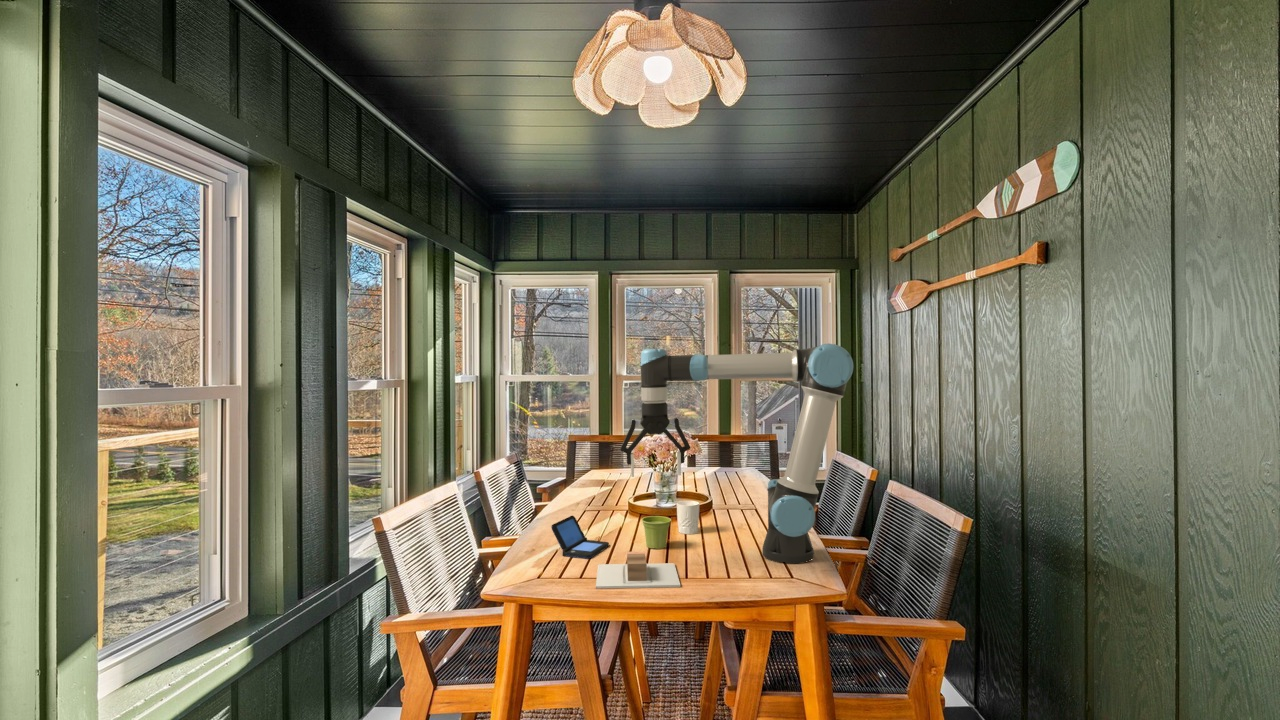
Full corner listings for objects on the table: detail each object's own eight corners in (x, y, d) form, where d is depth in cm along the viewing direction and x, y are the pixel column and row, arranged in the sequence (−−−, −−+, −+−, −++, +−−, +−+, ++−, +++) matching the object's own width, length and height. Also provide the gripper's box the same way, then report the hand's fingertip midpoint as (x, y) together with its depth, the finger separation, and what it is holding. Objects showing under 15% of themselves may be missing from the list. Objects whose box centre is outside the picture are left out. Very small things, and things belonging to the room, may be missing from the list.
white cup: (672, 530, 222) (672, 502, 222) (691, 527, 226) (691, 499, 226) (684, 536, 215) (684, 506, 215) (704, 533, 219) (703, 503, 219)
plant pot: (660, 540, 210) (660, 514, 210) (677, 547, 202) (676, 520, 202) (636, 545, 205) (636, 518, 205) (652, 552, 197) (652, 524, 197)
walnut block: (646, 580, 170) (646, 563, 170) (627, 581, 169) (627, 564, 169) (644, 567, 181) (644, 551, 181) (627, 567, 180) (627, 551, 180)
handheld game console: (589, 560, 190) (589, 529, 190) (549, 555, 195) (549, 525, 195) (610, 546, 205) (610, 517, 205) (573, 542, 210) (572, 514, 210)
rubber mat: (674, 565, 184) (674, 563, 184) (680, 587, 166) (680, 584, 166) (597, 566, 184) (597, 564, 184) (595, 588, 166) (595, 586, 166)
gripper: (695, 400, 190) (696, 471, 190) (611, 402, 188) (612, 474, 188) (698, 401, 182) (700, 476, 182) (611, 403, 181) (613, 478, 181)
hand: (655, 475), depth 185 cm, fingers open, 13 cm apart
